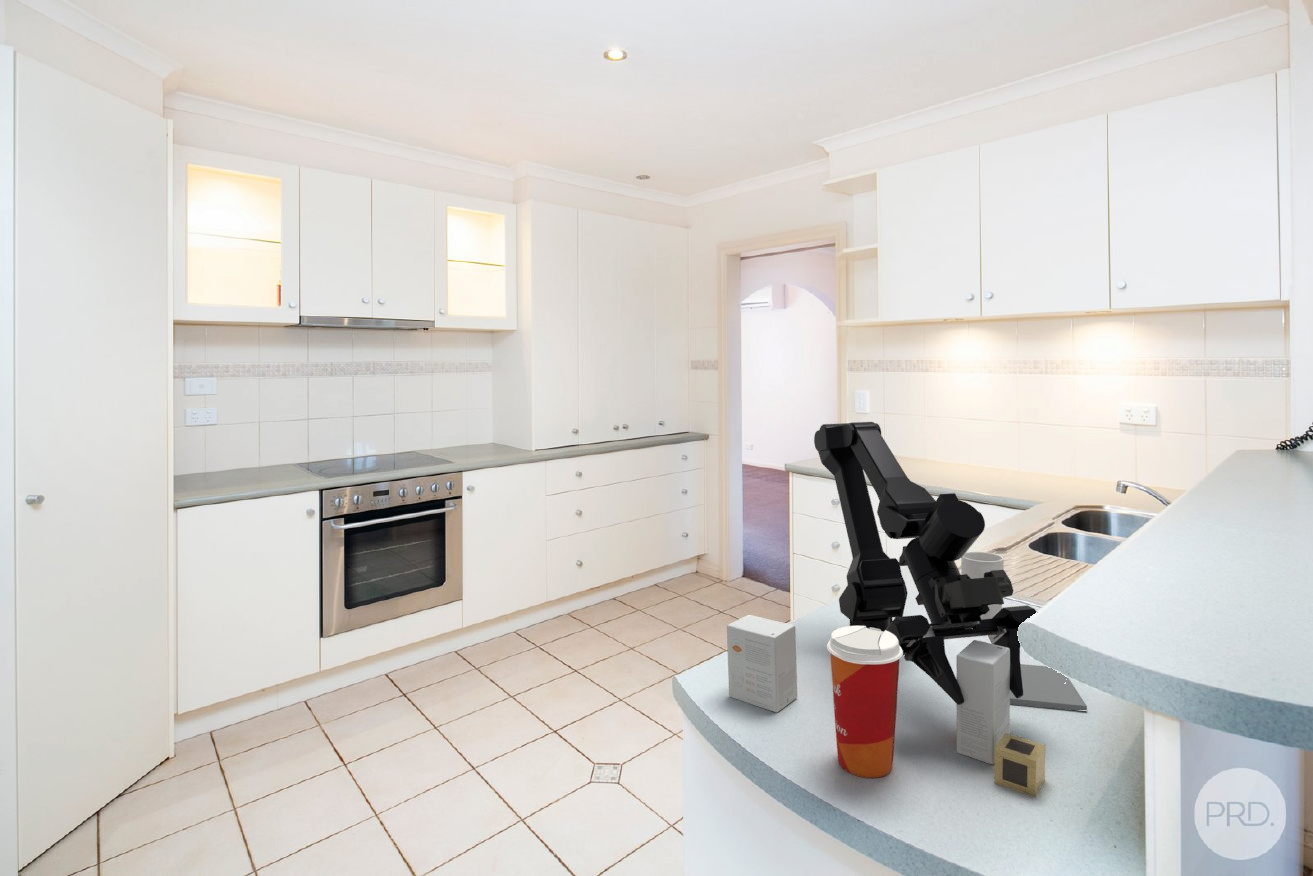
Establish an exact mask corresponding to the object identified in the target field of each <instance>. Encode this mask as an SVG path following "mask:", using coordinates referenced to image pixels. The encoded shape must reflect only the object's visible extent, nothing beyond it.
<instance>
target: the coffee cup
mask: <svg viewBox="0 0 1313 876" xmlns="http://www.w3.org/2000/svg"><path fill="white" fill-rule="evenodd" d="M882 633H883V634H882ZM826 649H827V650H828V652H829V654H830V666H831V667H830V668H831V681H832V683H831V685H832V694H833V695H832V697H833V700H832V701H833V713H834V724H835V725H834V726H835V727H834V728H835V739H836V752H837V758H838V759H837V760H838V763H839V766H840V767H841V768H842V769H843V770H844V771H845V772H847V773H849V774H851V775H854V776H856V777H859V778H866V779H879V778H883V777H886V776H887V775H889V774H890V773H891V772H892V770H893V769H892V768H893V765H894V764H893V763H894V762H893V761H894V752H895V738H896V737H895V735H896V723H897V722H896V721H897V706H898V691H899V690H898V688H899V687H898V686H899V675H900V674H899V671H900V660H901V658H902V657H903V656H904V655H903V650H902V648H901V647H900V646H899V641H898V639H897V637H896V636H895V635H894V634H892V633H891V632H889V631H886V630H885V631H884V632H883V631H881V629H876V628H871V627H870V629H869V628H866V626H850V625H848V626H842V627H839V628H837V629H835V630H833V632H832V633H831V635H830V639H829V641H828V642H827V644H826Z"/></svg>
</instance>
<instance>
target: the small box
mask: <svg viewBox="0 0 1313 876" xmlns="http://www.w3.org/2000/svg"><path fill="white" fill-rule="evenodd" d="M796 637H797V635H796V625H794V624H790V623H787V622H786V623H785V622H781V621H777V620H773V619H769V618H765V617H760V616H757V615H753V614H747V615H745V616H743V617H741V618H739V619H737V620H735V621H733V622H731V623H729V624H727V625H726V639H727V640H726V643H727V644H726V645H727V646H726V647H727V668H728V670H727V672H728V695H729V697H730V698H733V699H736V700H738V701H741V702H744V703H747V704H749V705H754V706H756V707H759V708H761V709H765V710H768V711H771V712H774V713H779V712H780V711H781V710H782V709H784V708H785V707H787V706H788V705H789V704H790V703H792V702H794V700H796V699H797V698H798V673H797V672H798V671H797V639H796Z"/></svg>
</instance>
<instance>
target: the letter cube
mask: <svg viewBox="0 0 1313 876" xmlns="http://www.w3.org/2000/svg"><path fill="white" fill-rule="evenodd" d="M993 768H994V769H993V770H994V777H993V778H994V779H993V780H994V782H993V783H994V784H998V785H999V786H1003V787H1005V788H1009V789H1011V790H1013V791H1017V792H1020V793H1023V794H1025V795H1029V796H1031V797H1034V798H1036V796H1037V795H1038V793H1039V791H1040V789H1041V787H1042V786H1043V784H1044V782H1045V780H1046V779H1045V777H1046V744H1044V743H1039V742H1037V741H1032V740H1029V739H1026V738H1023V737H1019V736H1017V735H1013V734H1007V733H1005V734H1004V736H1003V737H1002V739H1001V740H1000V741H999V743H998V744H997V746H996V747H995V763H994V767H993Z"/></svg>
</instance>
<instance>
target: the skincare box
mask: <svg viewBox="0 0 1313 876" xmlns="http://www.w3.org/2000/svg"><path fill="white" fill-rule="evenodd" d="M956 679H957V682H958V684H959V686H960V689H961V692H962V695H963V698H964V703H963V704H961V705H958V704H957V703H956V752H957V754H960V755H963V756H967V757H969V758H972V759H974V760H978V761H980V762H984V763H986V764H990V765H995V747H996V746H997V744H998V743H999V741H1000V740H1001V739H1002V737H1003V736H1004V734H1005V733H1007V734H1010V733H1011V732H1010V730H1011V729H1010V728H1011V726H1010V724H1011V723H1010V722H1011V719H1010V718H1011V716H1010V715H1011V713H1010V712H1011V711H1010V710H1011V709H1010V708H1011V704H1010V649H1009V648H1007V647H1003V646H999V645H994V644H992V643H991V642H987V641H982V640H976V639H974V640H972V641H971V642H970V643H969V644H967V646H966V647H964V649H962V650H961V651H960V652H959V653H958V654H956ZM1010 735H1011V734H1010Z"/></svg>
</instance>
